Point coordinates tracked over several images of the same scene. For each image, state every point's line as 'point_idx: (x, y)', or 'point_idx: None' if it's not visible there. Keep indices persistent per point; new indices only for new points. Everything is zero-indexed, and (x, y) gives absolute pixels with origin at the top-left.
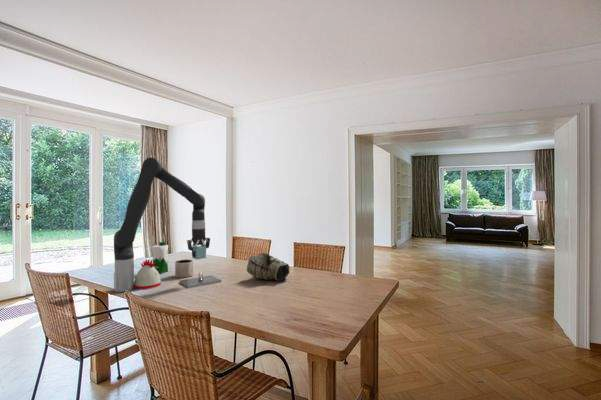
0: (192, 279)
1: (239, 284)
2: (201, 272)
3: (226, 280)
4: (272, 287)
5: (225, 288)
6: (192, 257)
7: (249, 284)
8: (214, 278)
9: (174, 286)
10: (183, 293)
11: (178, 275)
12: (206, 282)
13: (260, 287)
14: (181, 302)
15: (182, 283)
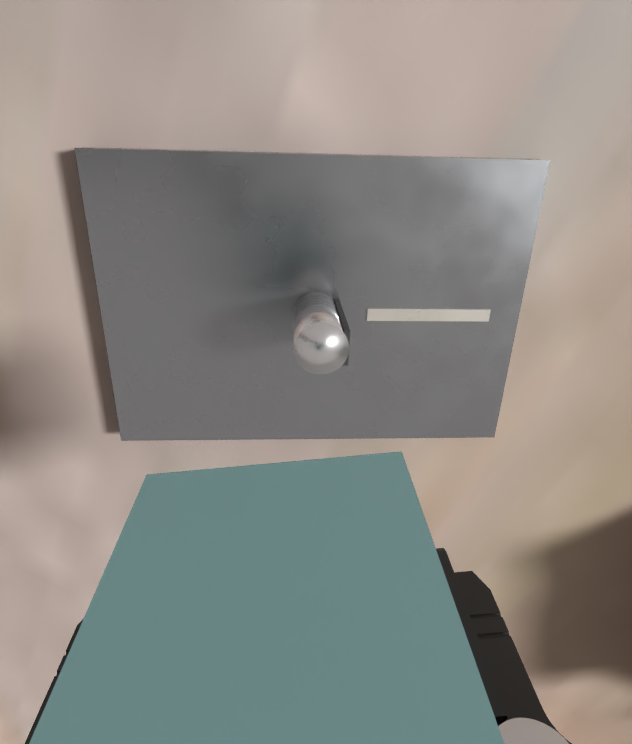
0: (250, 209)
1: (538, 578)
2: (341, 345)
3: (555, 414)
4: (627, 727)
5: None
6: (142, 492)
7: (588, 615)
8: (478, 346)
9: (2, 281)
10: (52, 543)
11: None
12: (327, 438)
13: (579, 696)
14: (4, 690)
15: (98, 274)
